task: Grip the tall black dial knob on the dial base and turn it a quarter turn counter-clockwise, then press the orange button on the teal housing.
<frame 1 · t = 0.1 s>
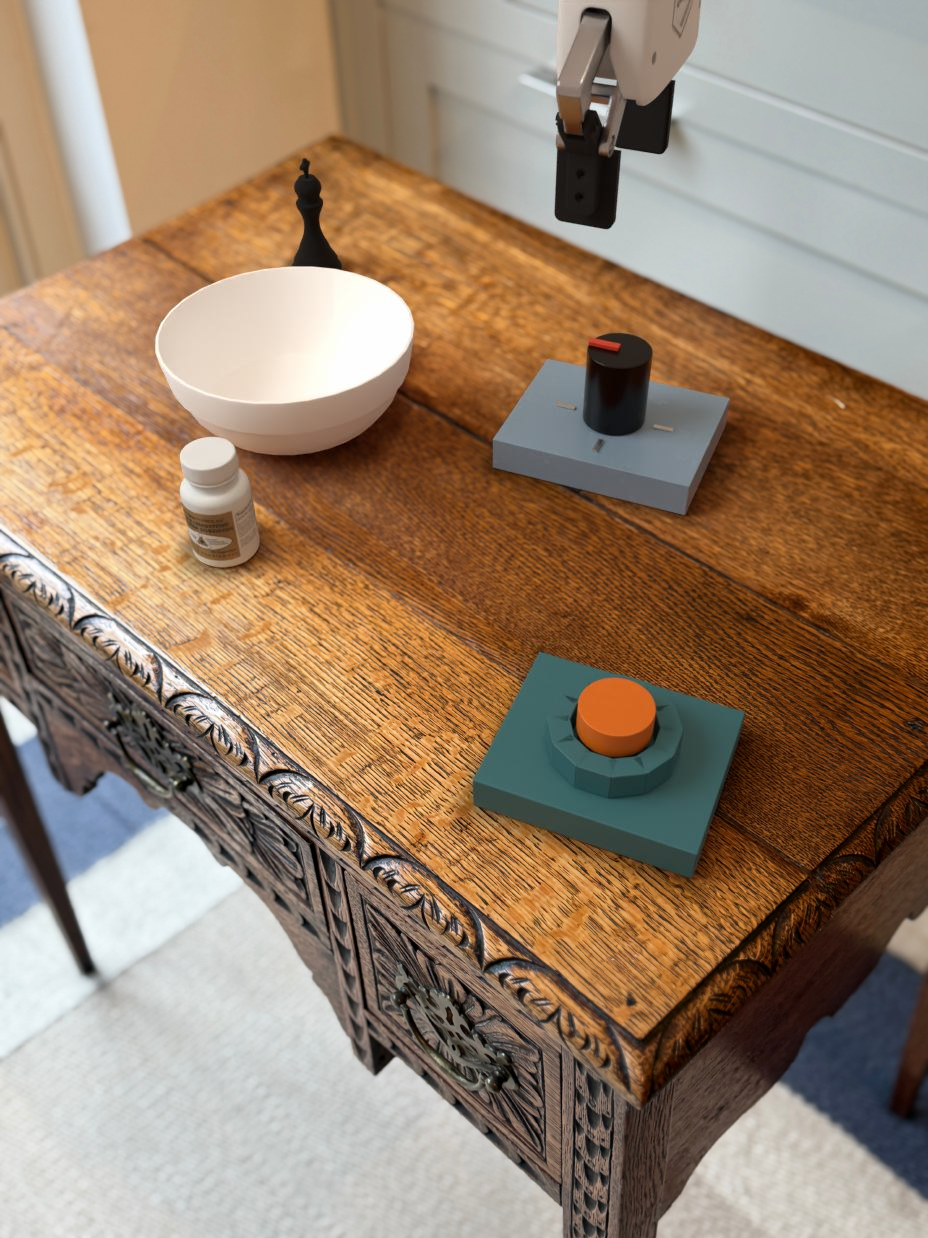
hand: (613, 183, 65), 22 cm above the table, tool pointing down, fingers open, 9 cm apart
chess piece: (317, 271, 104), on the table
dial knob: (616, 382, 81), point 5 cm above the table, hinge at 0.0°
bowl: (297, 416, 89), on the table
dial base: (611, 446, 85), on the table
button: (615, 717, 61), point 4 cm above the table, slide at 0.1 cm
button block: (609, 770, 64), on the table
pill bottle: (227, 549, 78), on the table
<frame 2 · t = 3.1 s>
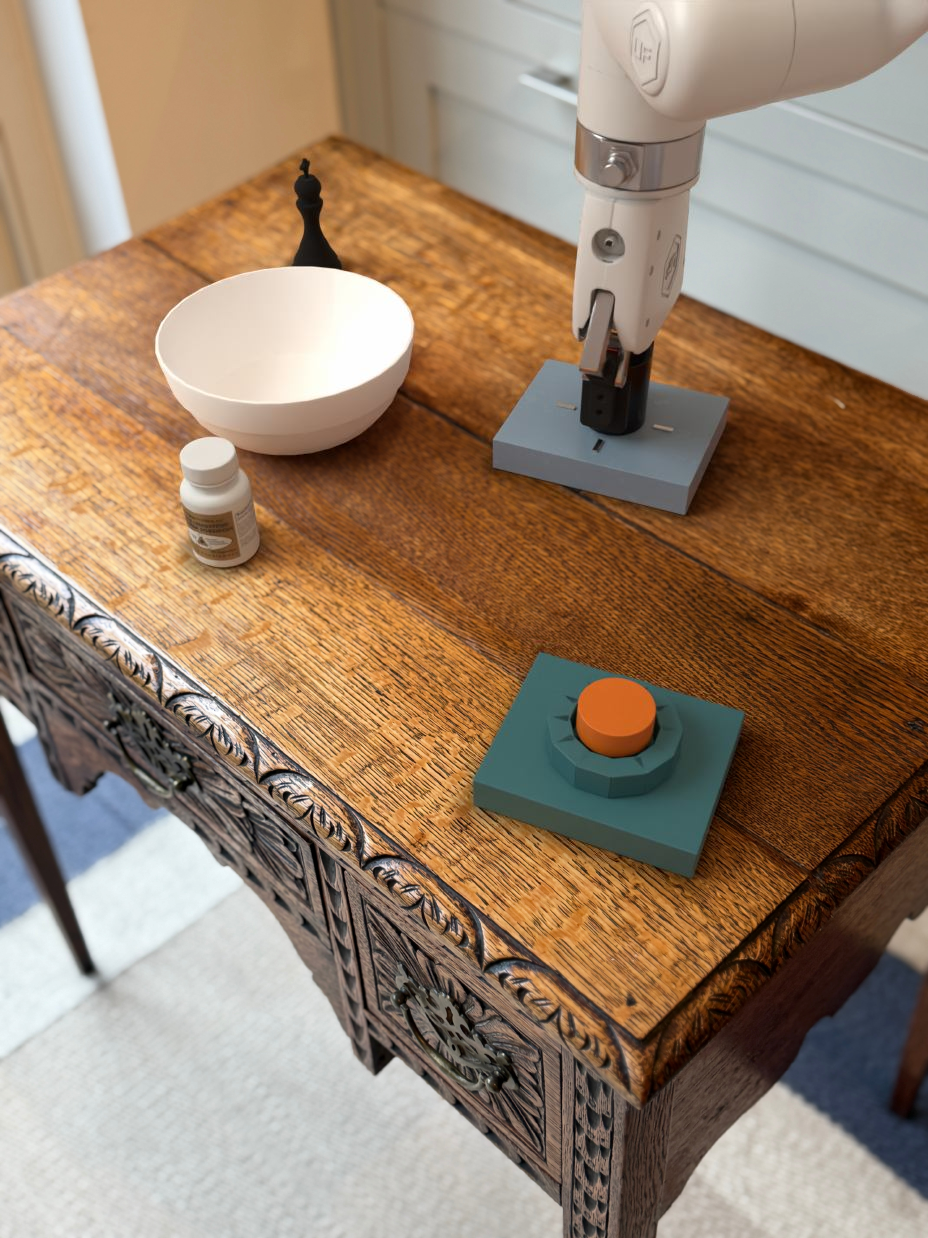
hand: (614, 404, 82), 4 cm above the table, tool pointing down, fingers closed on dial knob, 4 cm apart
dial knob: (616, 382, 81), point 5 cm above the table, hinge at -0.1°, touching gripper
everything else where it was.
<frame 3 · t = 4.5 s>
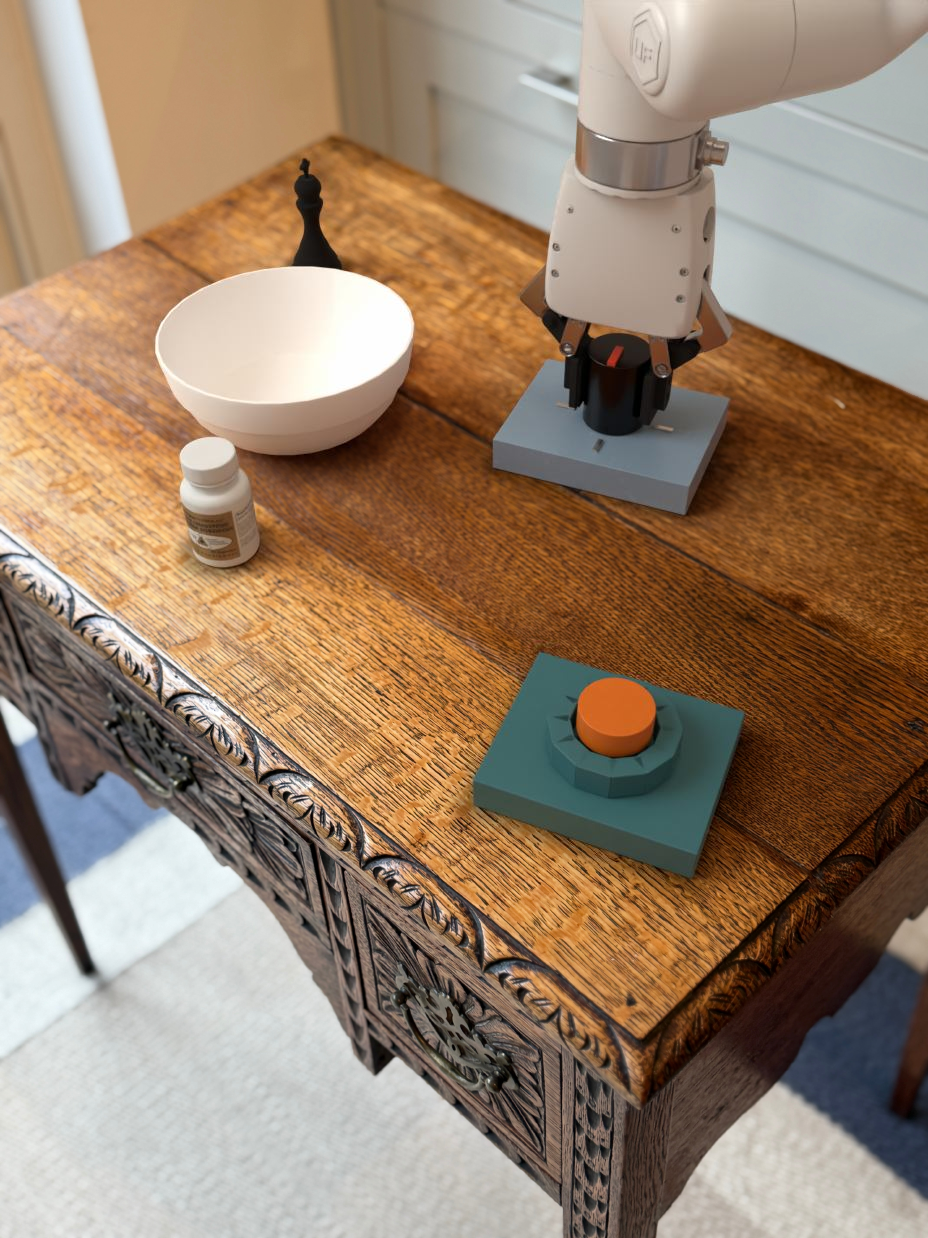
hand: (615, 403, 83), 4 cm above the table, tool pointing down, fingers closed on dial knob, 4 cm apart
dial knob: (616, 382, 81), point 5 cm above the table, hinge at 91.4°, touching gripper
everything else where it was.
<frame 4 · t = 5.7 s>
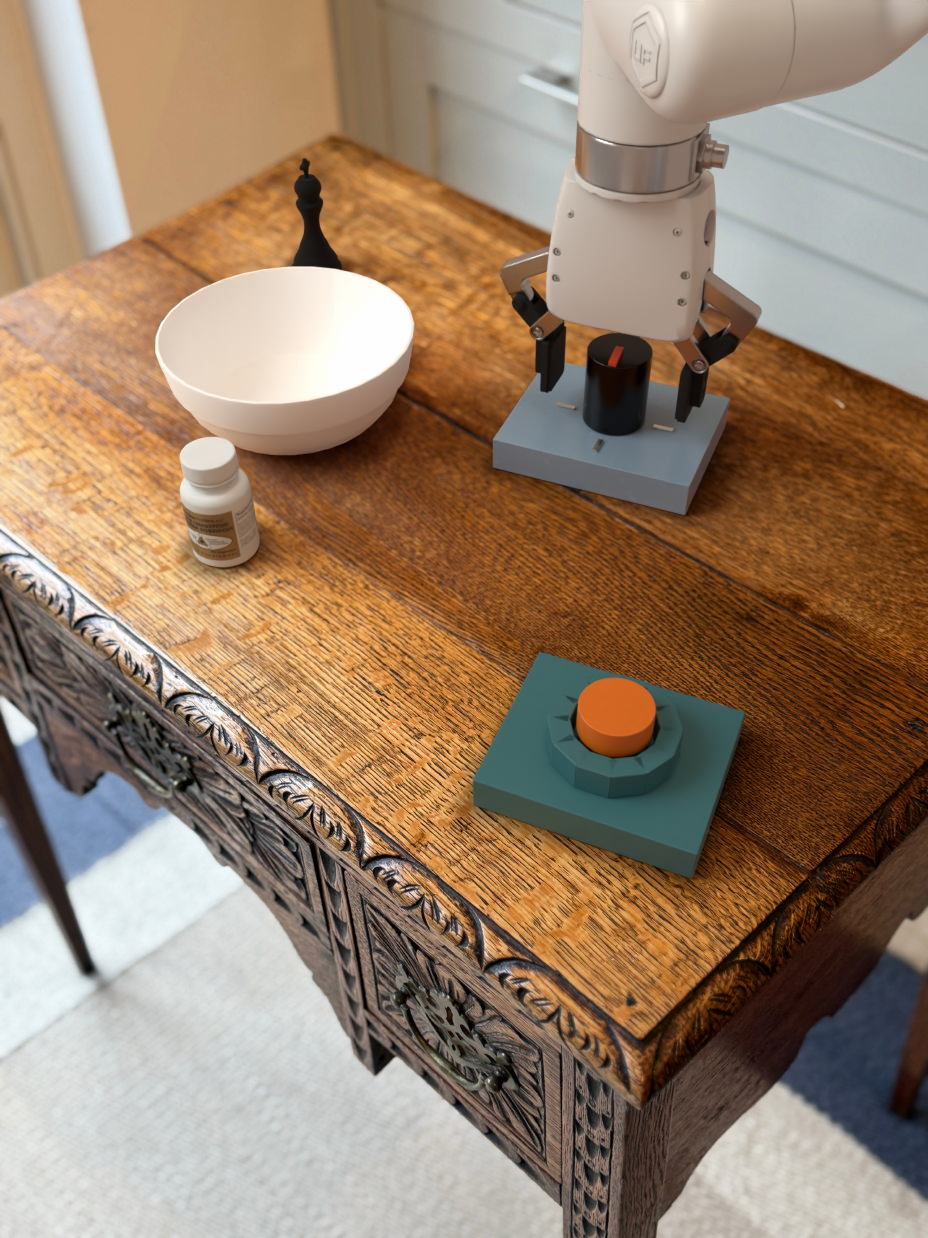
hand: (617, 396, 82), 4 cm above the table, tool pointing down, fingers open, 9 cm apart
dial knob: (616, 382, 81), point 5 cm above the table, hinge at 93.5°
everything else where it was.
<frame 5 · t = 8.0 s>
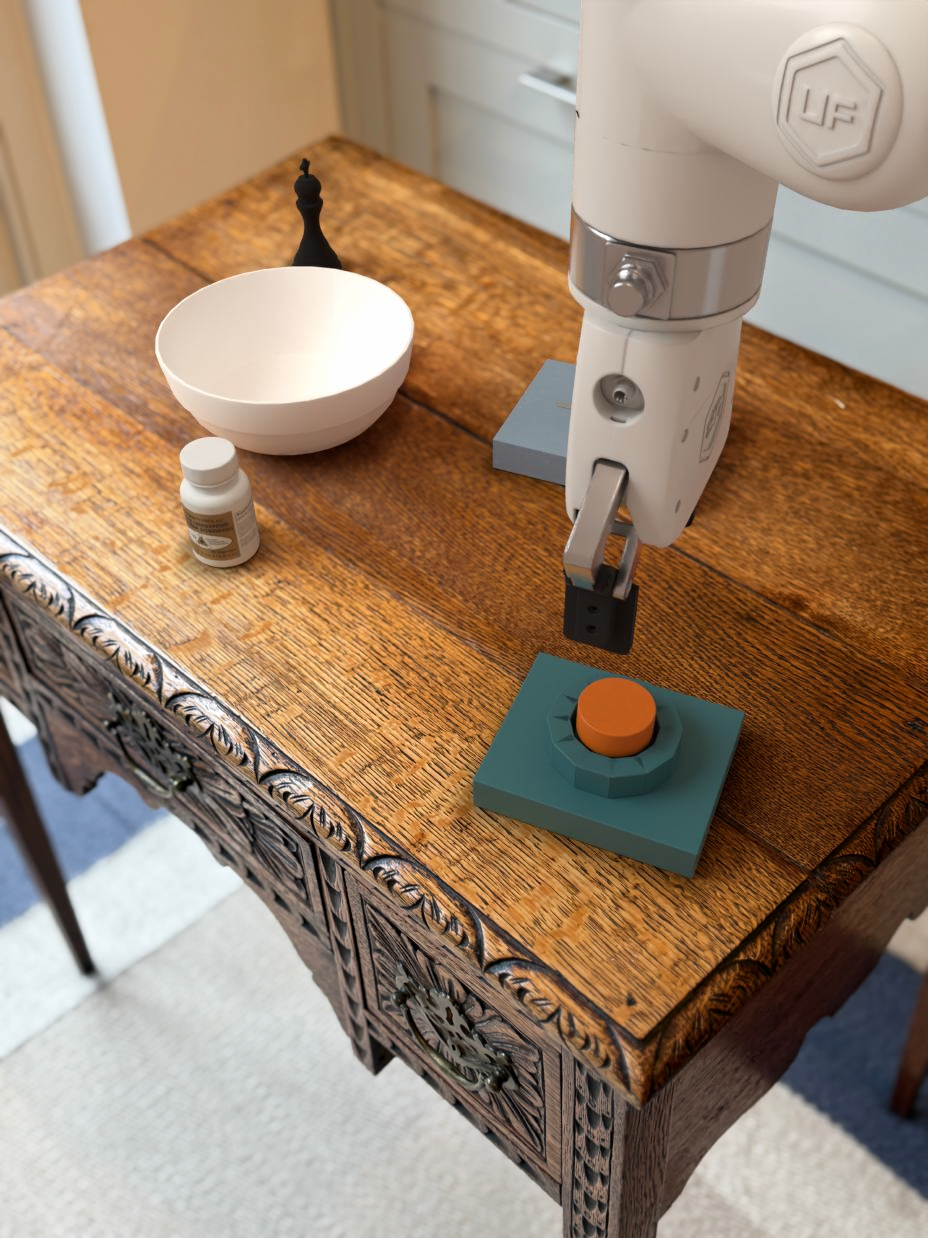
hand: (631, 577, 57), 12 cm above the table, tool pointing down, fingers open, 9 cm apart
nothing on the table moved.
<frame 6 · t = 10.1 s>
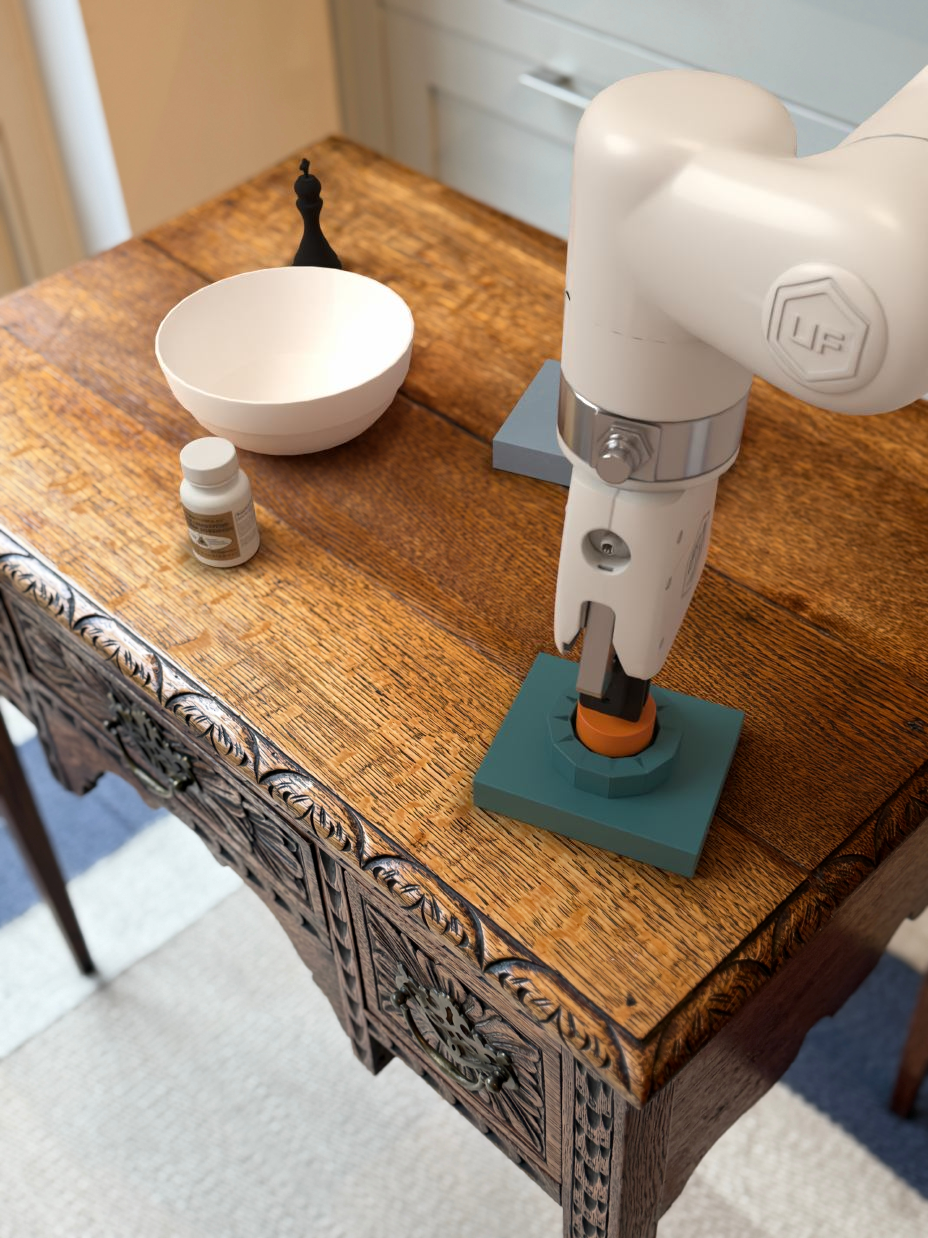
hand: (613, 703, 61), 5 cm above the table, tool pointing down, fingers closed
button: (615, 717, 61), point 4 cm above the table, slide at 0.1 cm, touching gripper
everything else where it was.
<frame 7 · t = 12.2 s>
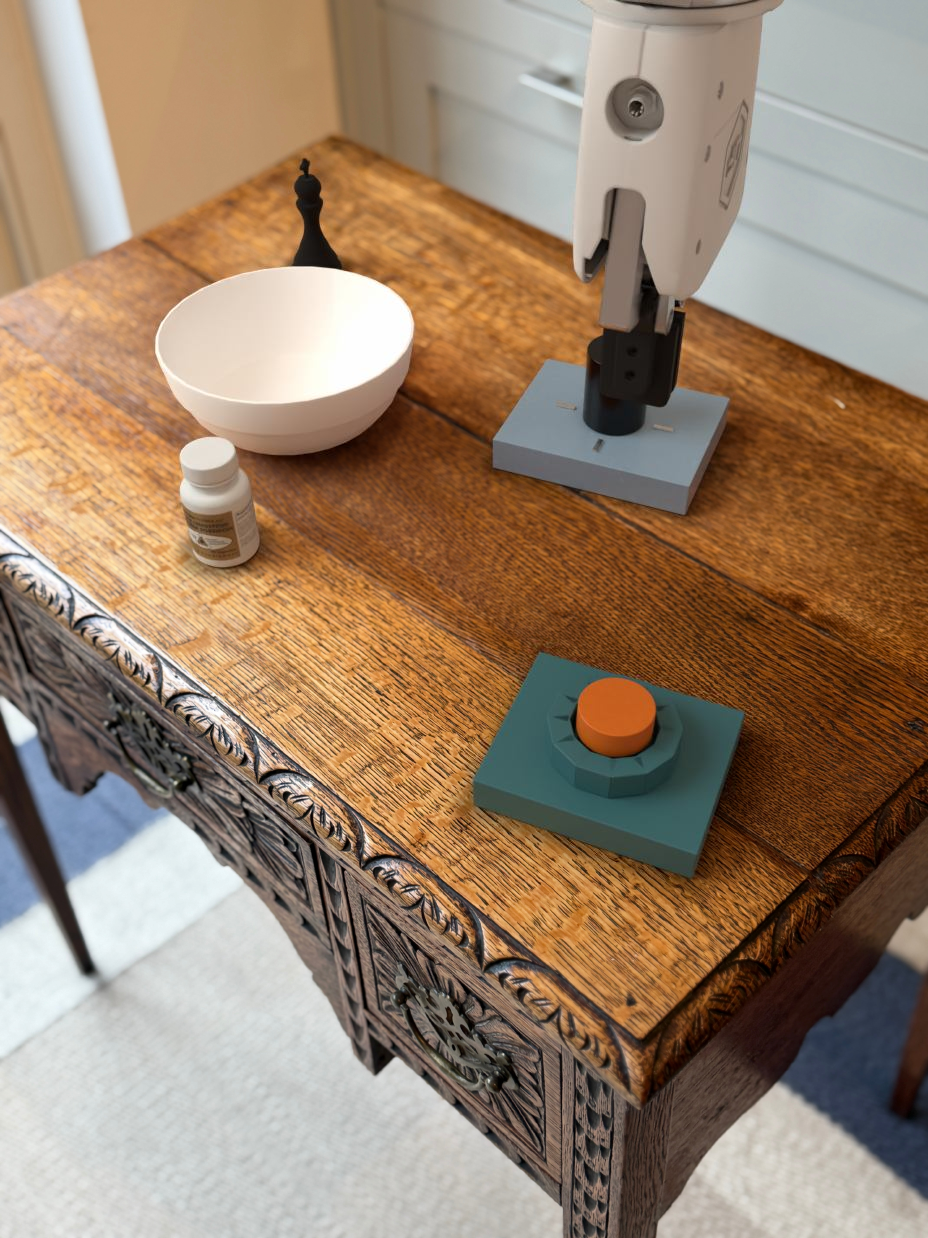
hand: (637, 391, 54), 21 cm above the table, tool pointing down, fingers closed
button: (615, 717, 61), point 4 cm above the table, slide at 0.1 cm
everything else where it was.
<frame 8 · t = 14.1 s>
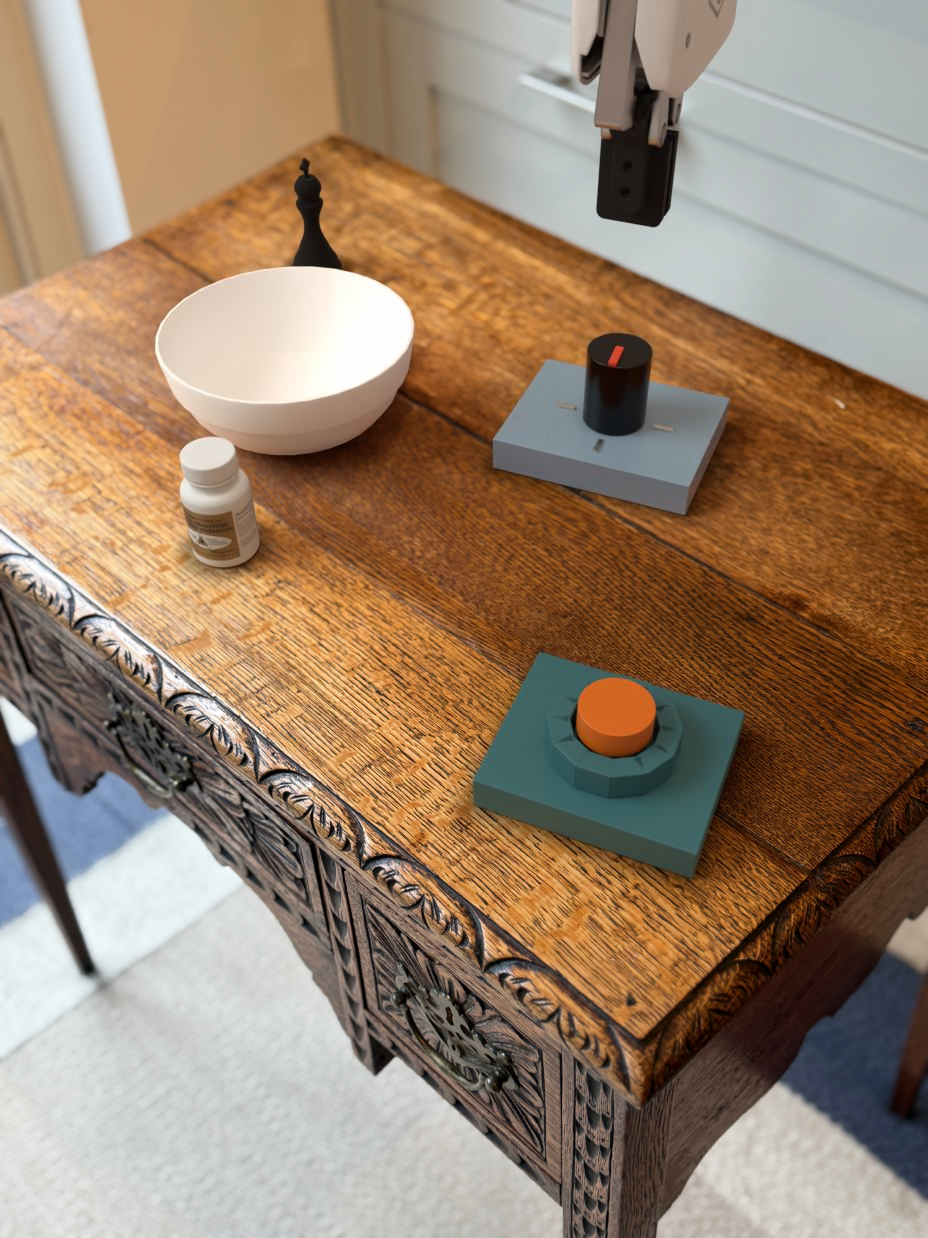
hand: (632, 214, 56), 25 cm above the table, tool pointing down, fingers closed
nothing on the table moved.
at the end: dial knob at +94° (first picture: +0°); button pushed in 1.1 cm at the most during the clip, back to where it started at the end; button slide at 0.1 cm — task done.
